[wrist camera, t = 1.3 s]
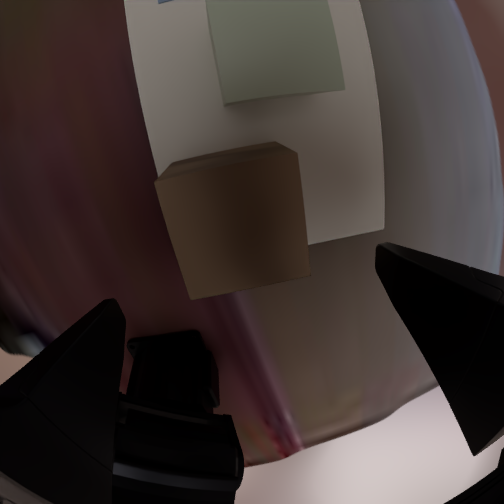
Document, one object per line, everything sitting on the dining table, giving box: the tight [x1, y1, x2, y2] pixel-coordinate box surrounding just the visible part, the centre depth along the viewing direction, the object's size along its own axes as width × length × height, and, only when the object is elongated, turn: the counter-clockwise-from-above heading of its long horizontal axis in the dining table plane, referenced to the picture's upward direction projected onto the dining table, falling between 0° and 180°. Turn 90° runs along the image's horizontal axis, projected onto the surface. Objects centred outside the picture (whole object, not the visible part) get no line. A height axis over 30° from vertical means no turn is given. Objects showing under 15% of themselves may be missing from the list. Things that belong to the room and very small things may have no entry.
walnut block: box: [154, 141, 311, 300], centre depth 15 cm, size 6×6×5 cm
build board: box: [124, 0, 385, 245], centre depth 13 cm, size 14×27×1 cm, turn 10°
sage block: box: [205, 0, 345, 107], centre depth 11 cm, size 5×5×5 cm
